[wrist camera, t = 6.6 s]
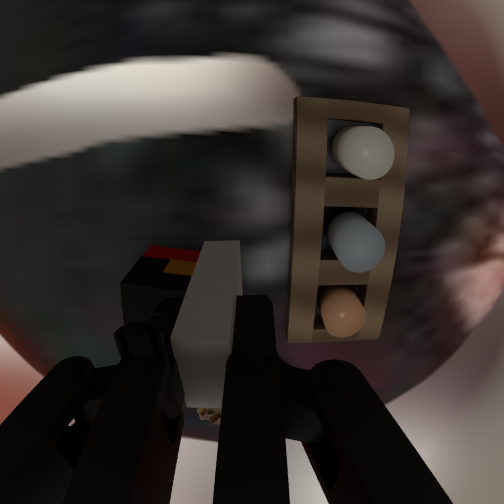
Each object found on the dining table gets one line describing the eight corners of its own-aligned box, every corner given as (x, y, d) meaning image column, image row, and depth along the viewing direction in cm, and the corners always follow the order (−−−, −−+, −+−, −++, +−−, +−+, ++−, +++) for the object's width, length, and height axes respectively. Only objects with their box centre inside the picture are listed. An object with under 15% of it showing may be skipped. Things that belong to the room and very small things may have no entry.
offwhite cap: (331, 124, 30) (345, 123, 25) (376, 128, 30) (395, 129, 25) (330, 170, 32) (343, 178, 27) (374, 173, 32) (392, 181, 27)
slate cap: (328, 210, 33) (340, 224, 29) (370, 211, 33) (388, 225, 29) (325, 253, 35) (335, 272, 30) (366, 253, 35) (381, 272, 30)
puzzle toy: (233, 254, 38) (226, 296, 29) (227, 325, 42) (220, 377, 32) (150, 245, 38) (120, 283, 28) (152, 316, 41) (129, 364, 32)
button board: (293, 99, 31) (297, 96, 29) (397, 109, 31) (409, 108, 29) (285, 329, 42) (287, 343, 39) (372, 325, 42) (378, 338, 39)
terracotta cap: (319, 280, 38) (327, 301, 34) (356, 280, 38) (369, 300, 34) (315, 314, 40) (322, 338, 35) (351, 313, 40) (362, 336, 35)
